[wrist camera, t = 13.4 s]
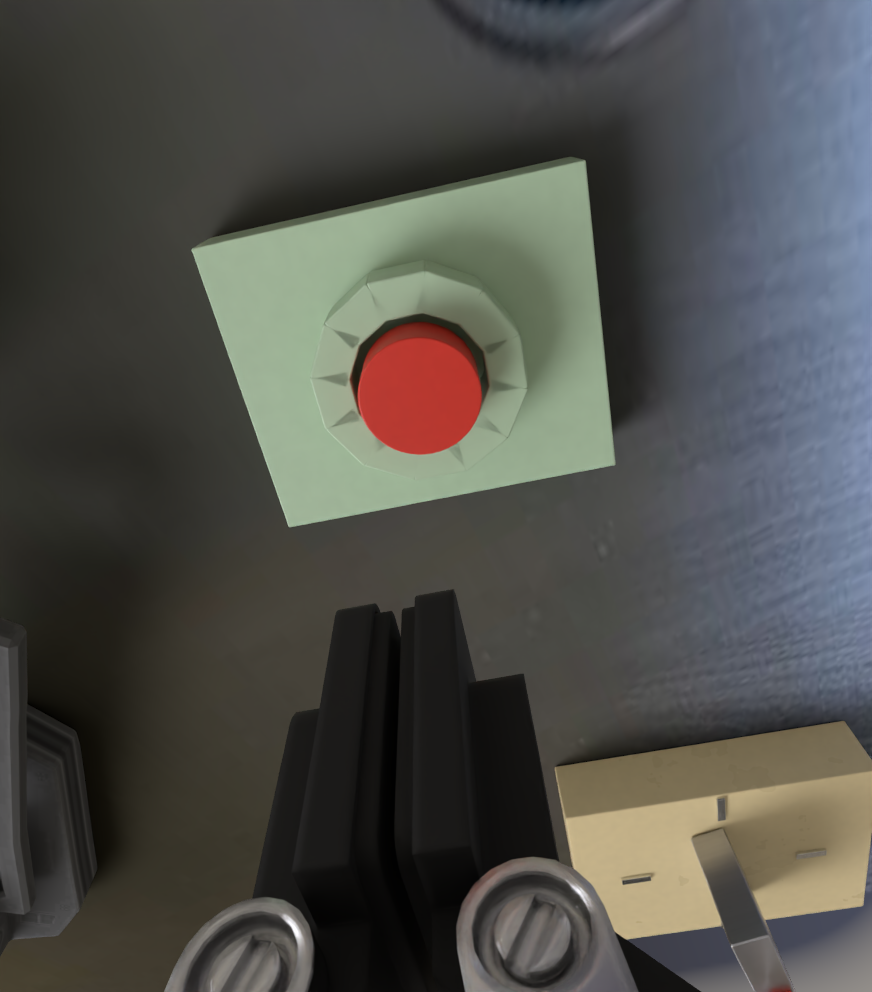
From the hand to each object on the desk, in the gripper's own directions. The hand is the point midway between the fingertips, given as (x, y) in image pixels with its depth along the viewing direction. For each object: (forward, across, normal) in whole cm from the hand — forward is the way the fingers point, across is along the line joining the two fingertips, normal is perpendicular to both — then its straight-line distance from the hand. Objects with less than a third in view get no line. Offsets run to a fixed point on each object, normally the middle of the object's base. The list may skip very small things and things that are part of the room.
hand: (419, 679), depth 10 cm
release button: (+13, 0, 0) cm, 13 cm away
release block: (+17, 0, 0) cm, 17 cm away
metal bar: (+14, -9, +27) cm, 32 cm away
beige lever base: (+17, -9, +27) cm, 33 cm away
